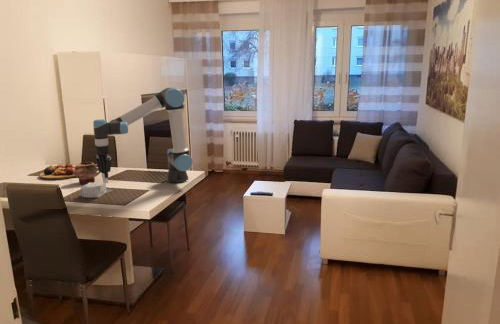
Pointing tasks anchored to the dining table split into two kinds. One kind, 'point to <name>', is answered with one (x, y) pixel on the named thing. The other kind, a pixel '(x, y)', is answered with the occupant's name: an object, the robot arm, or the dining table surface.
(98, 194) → the light bulb box
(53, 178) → the wooden plate with food
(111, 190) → the mat
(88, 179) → the brown rounded vessel
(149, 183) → the dining table surface
